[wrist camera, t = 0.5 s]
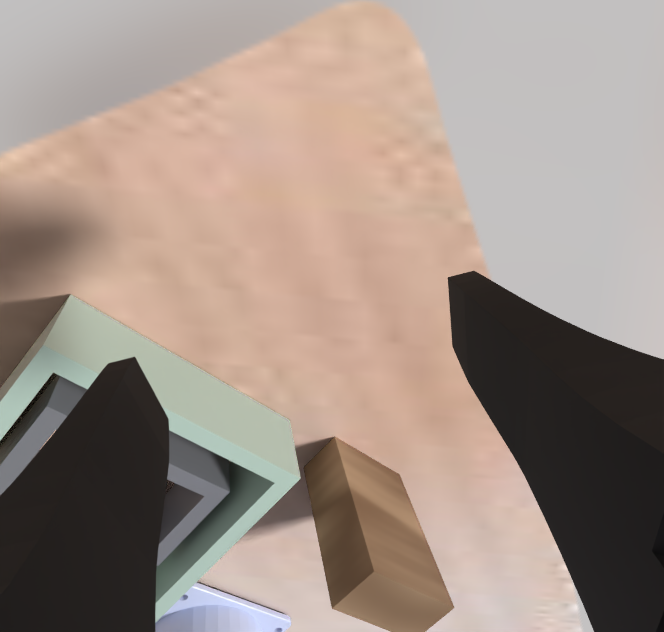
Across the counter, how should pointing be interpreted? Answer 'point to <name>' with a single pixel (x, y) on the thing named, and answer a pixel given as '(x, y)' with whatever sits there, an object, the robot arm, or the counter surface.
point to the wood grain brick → (373, 543)
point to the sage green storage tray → (184, 437)
